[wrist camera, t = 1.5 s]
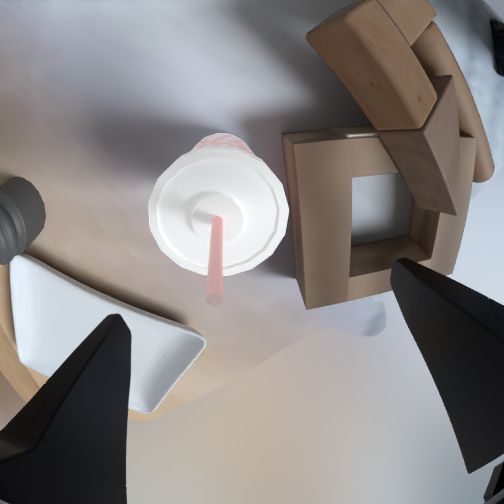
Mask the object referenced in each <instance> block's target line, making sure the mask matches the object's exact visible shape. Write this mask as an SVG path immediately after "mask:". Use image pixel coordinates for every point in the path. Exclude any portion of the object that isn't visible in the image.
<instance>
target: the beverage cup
mask: <svg viewBox="0 0 504 504" xmlns="http://www.w3.org/2000/svg"><path fill="white" fill-rule="evenodd" d="M148 211H149V224H150V230H151V232H152V234H153V236H154V238H155V240H156V241H157V243H158V245H159V247H160V249H161V251H163V252H164V253H165V254H166V255H167V256H168V257H170V258H171V259H172V260H173V261H174V262H176V263H177V264H178V265H179V266H180V267H183V268H186V269H188V270H191V271H194V272H196V273H199V274H202V275H207V289H206V301H207V303H208V304H210V305H219V304H221V303H222V301H223V276H230V275H233V274H236V273H240V272H243V271H247V270H250V269H253V268H254V267H255V266H257V265H258V264H260V263H261V262H262V261H264V260H265V259H266V258H268V257H269V256H271V255H272V254H273V252H274V251H275V249H276V248H277V246H278V244H279V243H280V241H281V240H282V238H283V237H284V235H285V232H286V226H287V221H288V215H289V207H288V203H287V200H286V196H285V192H284V189H283V185H282V183H281V182H280V180H279V179H278V178H277V177H276V175H275V174H274V173H273V172H272V171H271V170H270V168H269V167H268V166H267V165H266V164H265V163H264V161H263V160H262V159H260V158H258V157H256V156H255V155H254V153H253V152H252V151H251V149H250V148H249V147H248V146H247V145H246V143H245V142H244V141H243V140H242V139H240V138H238V137H236V136H234V135H232V134H228V133H215V134H213V135H210V136H207V137H204V138H203V139H202V140H201V141H200V142H199V143H198V144H197V145H196V146H195V147H194V148H193V149H192V150H191V151H190V152H189V153H186V154H183V155H181V156H180V157H179V158H178V159H177V160H176V161H175V162H174V163H173V164H172V165H171V166H170V167H169V168H167V169H166V170H165V171H164V172H163V173H162V175H161V176H160V177H159V178H158V179H157V182H156V184H155V187H154V189H153V192H152V195H151V197H150V200H149V203H148Z"/></svg>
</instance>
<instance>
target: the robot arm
mask: <svg viewBox="0 0 504 504" xmlns="http://www.w3.org/2000/svg"><path fill="white" fill-rule="evenodd" d="M491 26H492V31H493V37H494V44H495V51H496V59H497V70H498V74H499V75H500V76H502V77H504V24H503V23H501V22H499V21H498V20H496V19H491ZM390 284H391V287H392V290H393V292H394V294H395V297H396V299H397V302H398V304H399V307H400V309H401V312H402V314H403V316H404V319H405V321H406V324H407V325H408V328H409V330H410V332H411V333H412V335H413V337H414V340H415V341H416V343H417V346H418V347H419V350H420V351H421V354H422V356H423V358H424V360H425V362H426V364H427V366H428V369H429V371H430V373H431V375H432V378H433V380H434V382H435V384H436V387H437V389H438V391H439V394H440V396H441V398H442V401H443V403H444V406H445V408H446V411H447V413H448V416H449V418H450V421H451V424H452V427H453V429H454V432H455V435H456V438H457V441H458V444H459V447H460V450H461V453H462V456H463V459H464V462H465V465H466V469H467V472H468V474H470V473H472V472H474V471H476V470H477V469H479V468H481V467H483V466H485V465H486V464H488V463H490V462H491V461H493V460H495V459H496V458H498V457H499V456H501V455H502V454H504V305H502V304H499V303H498V302H496V301H494V300H492V299H490V298H488V297H486V296H485V295H483V294H481V293H479V292H477V291H475V290H473V289H471V288H469V287H467V286H465V285H463V284H461V283H459V282H457V281H455V280H453V279H451V278H449V277H447V276H445V275H443V274H440V273H438V272H436V271H434V270H432V269H430V268H428V267H426V266H424V265H421V264H419V263H417V262H415V261H413V260H410V259H408V258H406V257H401V258H397V259H395V260H393V263H392V269H391V275H390ZM131 343H132V335H131V331H130V329H129V327H128V326H127V324H126V322H125V321H124V319H123V317H122V316H121V315H120V314H119V313H115V314H109V315H107V316H106V317H105V318H104V319H103V320H102V321H101V322H100V323H99V324H98V326H97V327H96V328H95V329H94V330H93V331H92V332H91V333H90V334H89V335H88V336H87V337H86V338H85V339H84V340H83V341H82V342H81V344H80V345H79V346H78V347H77V348H76V349H75V350H74V351H73V352H72V353H71V354H70V355H69V357H68V358H67V359H66V360H65V361H64V362H63V363H62V364H61V365H60V367H59V368H58V369H57V370H56V371H55V372H54V373H53V374H52V376H51V377H50V378H49V379H48V380H47V381H46V384H44V385H43V386H42V387H41V388H40V390H39V391H38V392H37V393H36V394H35V395H34V396H33V397H32V399H31V400H30V401H29V402H28V403H27V404H26V405H25V406H24V407H23V408H22V409H21V410H20V412H18V413H17V415H16V416H15V417H14V418H13V419H12V420H11V421H10V422H9V423H8V424H7V425H6V426H5V427H4V428H3V429H2V430H1V431H0V504H127V495H126V438H127V419H128V404H129V392H130V382H131ZM484 500H485V503H484V504H504V460H503V461H502V462H501V463H499V464H498V465H497V466H495V468H494V470H493V473H492V476H491V479H490V481H489V484H488V487H487V489H486V492H485V494H484Z"/></svg>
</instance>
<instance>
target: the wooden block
mask: <svg viewBox="0 0 504 504" xmlns="http://www.w3.org/2000/svg"><path fill="white" fill-rule="evenodd" d="M436 15H437V14H436V11H435V10H434V8H433V7H432V5H431V4H430V2H429V1H428V0H357V1H355V2H354V3H352V4H351V5H350V6H348V7H346V8H344V9H343V10H341V11H339V12H337V13H335V14H333V15H332V16H330V17H329V18H327V19H326V20H325V21H323V22H322V23H320V24H319V25H317V26H316V27H315V28H313V29H312V30H311V31H309V32H308V33H307V35H306V37H305V38H306V40H307V42H308V43H309V44H310V45H311V46H312V47H313V48H314V50H315V51H316V52H317V53H318V54H319V55H320V56H321V57H322V59H323V60H324V61H325V62H326V63H327V65H328V66H329V67H330V68H331V69H332V71H333V72H334V73H335V74H336V76H337V77H338V78H339V79H340V81H341V82H342V83H343V85H344V86H345V87H346V88H347V90H348V91H349V92H350V94H351V95H352V96H353V98H354V99H355V101H356V102H357V103H358V105H359V106H360V108H361V109H362V110H363V112H364V113H365V115H366V116H367V118H368V119H369V121H370V122H371V124H372V125H373V127H374V128H375V129H376V130H379V131H378V135H379V137H380V138H381V140H382V142H383V143H384V145H385V146H386V148H387V150H388V151H389V153H390V155H391V156H392V158H393V160H394V162H395V163H396V165H397V167H398V169H399V170H400V172H401V174H402V176H403V178H404V180H405V181H406V183H407V185H408V187H409V189H410V191H411V193H412V195H413V197H414V199H415V201H416V203H417V205H418V207H419V208H423V209H427V210H432V211H436V212H441V213H445V214H450V215H454V216H458V210H459V194H460V135H459V134H461V135H466V136H471V137H475V138H477V141H476V155H475V165H474V174H473V182H475V183H481V182H485V181H487V180H489V179H490V178H491V177H492V175H493V173H494V168H495V166H494V162H493V158H492V154H491V150H490V147H489V143H488V140H487V136H486V133H485V130H484V127H483V124H482V121H481V118H480V115H479V112H478V109H477V107H476V104H475V101H474V99H473V96H472V94H471V91H470V89H469V87H468V84H467V82H466V80H465V77H464V75H463V73H462V71H461V69H460V67H459V65H458V63H457V61H456V59H455V57H454V55H453V53H452V51H451V49H450V47H449V45H448V44H447V42H446V40H445V38H444V36H443V35H442V33H441V31H440V30H439V28H438V26H437V25H436V23H434V22H433V21H432V20H433V19H434V18H435V16H436Z"/></svg>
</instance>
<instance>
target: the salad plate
mask: <svg viewBox="0 0 504 504" xmlns="http://www.w3.org/2000/svg"><path fill="white" fill-rule="evenodd" d="M10 289H11V302H12V312H13V322H14V330H15V338H16V345H17V352H18V357H19V360H20V362H21V363H22V364H24V365H26V366H28V367H30V368H32V369H33V370H35V371H37V372H39V373H41V374H43V375H45V376H47V377H49V378H50V377H51V376H52V374H53V373H54V372H55V371H56V370H57V369H58V368H59V367H60V365H61V364H62V363H63V362H64V361H65V360H66V359H67V358H68V357H69V355H70V354H71V353H72V352H73V351H74V350H75V349H76V348H77V347H78V346H79V345H80V344H81V342H82V341H83V340H84V339H85V338H86V337H87V336H88V335H89V334H90V333H91V332H92V331H93V330H94V329H95V328H96V327H97V326H98V324H99V323H100V322H101V321H102V320H103V319H104V318H105V317H106V316H107V315H109V314H115V313H119V314H120V315H121V316H122V317H123V319H124V321H125V322H126V324H127V326H128V327H129V329H130V331H131V335H132V343H131V382H130V392H129V404H128V409H131V410H135V411H138V412H142V413H146V414H151V413H152V412H153V411H154V410H155V409H156V408H157V407H158V406H159V405H160V403H161V402H162V401H163V399H164V398H165V397H166V395H167V394H168V392H169V391H170V390H171V389H172V387H173V386H174V385H175V383H176V382H177V381H178V380H179V379H180V378H181V376H182V375H183V374H184V373H185V371H186V370H187V369H188V368H189V367H190V366H191V364H192V363H193V362H194V361H195V360H196V358H197V357H198V356H199V355H200V354H201V352H202V351H203V349H204V348H205V346H206V343H207V342H206V339H205V338H204V337H203V336H202V335H201V334H200V333H199V332H198V331H196V330H195V329H193V328H191V327H188V326H186V325H183V324H180V323H178V322H175V321H172V320H169V319H166V318H163V317H160V316H158V315H155V314H152V313H149V312H147V311H144V310H141V309H139V308H136V307H133V306H131V305H128V304H126V303H124V302H121V301H119V300H117V299H115V298H112V297H110V296H108V295H105V294H103V293H101V292H99V291H97V290H94V289H92V288H90V287H88V286H86V285H84V284H82V283H80V282H78V281H76V280H74V279H72V278H70V277H68V276H66V275H64V274H63V273H61V272H59V271H57V270H55V269H53V268H52V267H50V266H48V265H46V264H45V263H43V262H41V261H39V260H38V259H36V258H34V257H32V256H29V255H27V254H24V253H22V254H19V255H17V256H15V257H14V258H13V260H12V261H11V262H10Z"/></svg>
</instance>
